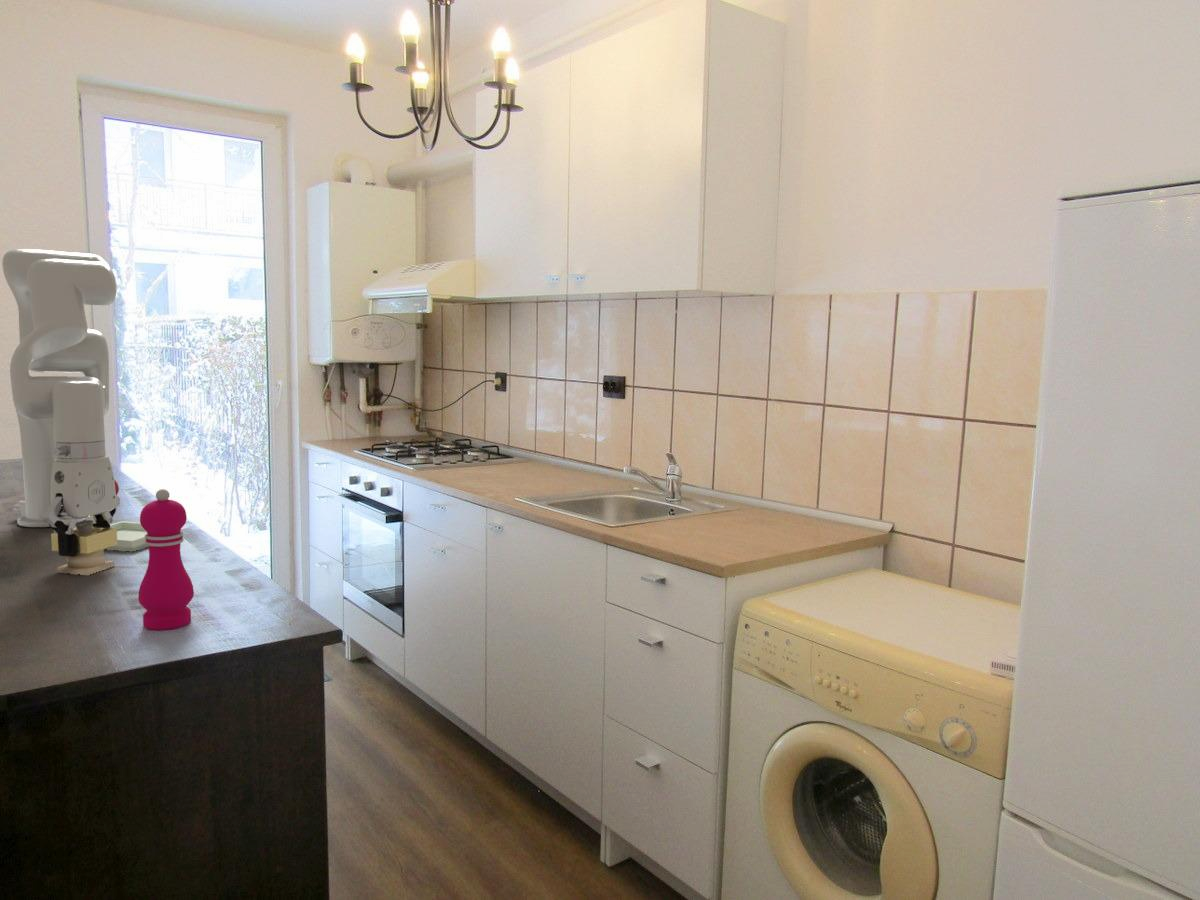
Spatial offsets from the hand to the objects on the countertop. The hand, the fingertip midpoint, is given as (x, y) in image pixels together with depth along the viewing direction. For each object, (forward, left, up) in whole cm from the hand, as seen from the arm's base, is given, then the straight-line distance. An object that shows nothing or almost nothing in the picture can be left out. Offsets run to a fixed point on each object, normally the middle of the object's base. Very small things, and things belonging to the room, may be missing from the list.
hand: (85, 549), depth 149 cm
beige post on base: (0, 0, -4) cm, 4 cm away
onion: (-39, +50, -4) cm, 63 cm away
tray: (-8, +20, -4) cm, 21 cm away
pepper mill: (+32, -20, -4) cm, 38 cm away
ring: (0, 0, 0) cm, 0 cm away
